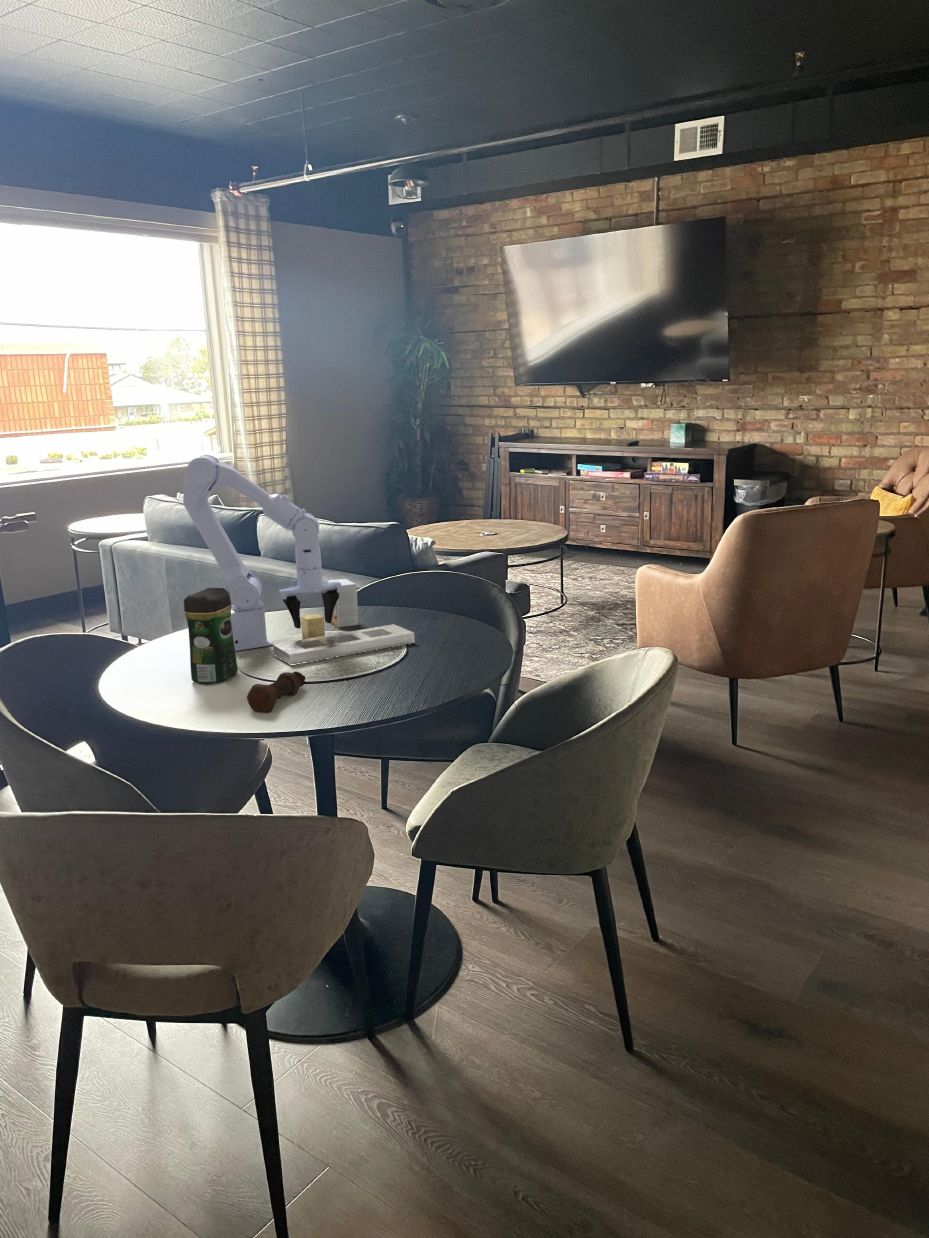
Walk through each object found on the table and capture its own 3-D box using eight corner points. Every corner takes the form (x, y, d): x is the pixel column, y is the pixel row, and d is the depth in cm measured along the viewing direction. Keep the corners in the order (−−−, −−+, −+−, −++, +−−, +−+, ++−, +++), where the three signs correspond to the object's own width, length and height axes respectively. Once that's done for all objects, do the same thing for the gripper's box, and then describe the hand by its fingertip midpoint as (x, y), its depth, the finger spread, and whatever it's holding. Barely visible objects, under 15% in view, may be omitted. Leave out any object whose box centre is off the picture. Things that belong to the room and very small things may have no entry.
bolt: (303, 697, 180) (264, 720, 166) (283, 683, 181) (242, 705, 167) (315, 673, 178) (276, 694, 164) (295, 659, 179) (254, 679, 165)
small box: (327, 621, 232) (325, 580, 230) (349, 618, 235) (346, 578, 232) (337, 627, 225) (334, 586, 223) (359, 625, 227) (356, 583, 225)
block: (309, 644, 211) (307, 619, 209) (302, 640, 214) (300, 616, 213) (325, 641, 213) (323, 616, 211) (318, 638, 216) (316, 613, 215)
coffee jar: (209, 670, 192) (201, 584, 188) (243, 672, 190) (236, 585, 186) (184, 684, 183) (175, 594, 179) (220, 687, 181) (211, 595, 177)
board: (290, 666, 194) (289, 654, 193) (273, 655, 202) (273, 644, 202) (414, 643, 209) (414, 632, 209) (394, 634, 217) (393, 624, 217)
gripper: (285, 574, 202) (290, 633, 205) (345, 566, 209) (348, 623, 213) (273, 569, 208) (278, 627, 211) (332, 561, 215) (336, 617, 219)
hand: (313, 625), depth 212 cm, fingers open, 7 cm apart
